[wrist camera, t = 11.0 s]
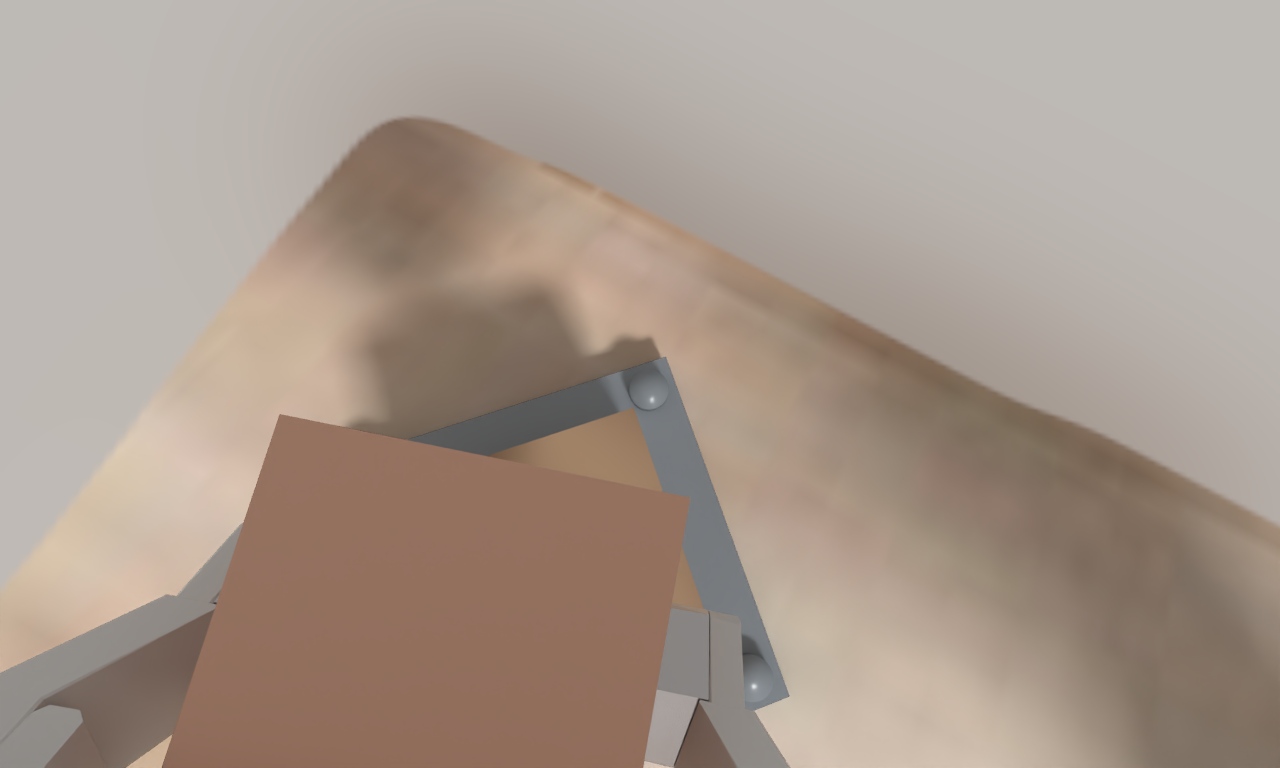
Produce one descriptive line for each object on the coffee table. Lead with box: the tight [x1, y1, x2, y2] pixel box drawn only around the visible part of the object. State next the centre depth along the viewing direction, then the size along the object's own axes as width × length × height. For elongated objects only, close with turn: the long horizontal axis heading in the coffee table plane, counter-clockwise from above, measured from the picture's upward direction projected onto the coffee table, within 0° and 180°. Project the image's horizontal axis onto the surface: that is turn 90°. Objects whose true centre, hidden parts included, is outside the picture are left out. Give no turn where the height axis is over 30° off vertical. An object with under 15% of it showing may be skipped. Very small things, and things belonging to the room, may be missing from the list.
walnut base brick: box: [488, 408, 704, 609], centre depth 23 cm, size 9×9×5 cm
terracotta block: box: [162, 414, 690, 768], centre depth 11 cm, size 5×5×8 cm
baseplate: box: [408, 357, 789, 711], centre depth 25 cm, size 14×14×2 cm
